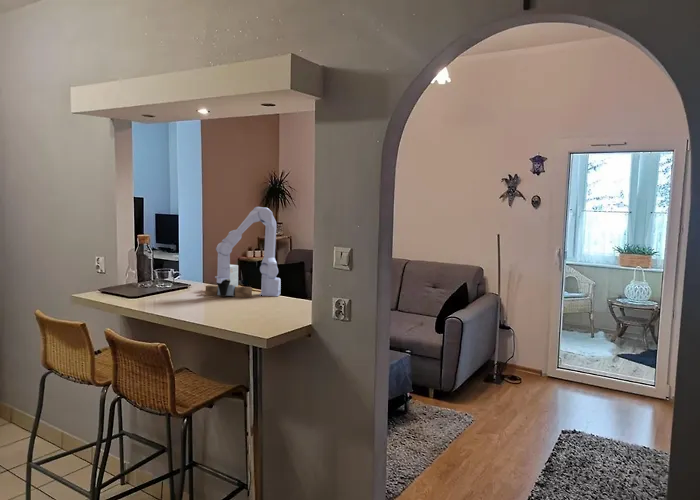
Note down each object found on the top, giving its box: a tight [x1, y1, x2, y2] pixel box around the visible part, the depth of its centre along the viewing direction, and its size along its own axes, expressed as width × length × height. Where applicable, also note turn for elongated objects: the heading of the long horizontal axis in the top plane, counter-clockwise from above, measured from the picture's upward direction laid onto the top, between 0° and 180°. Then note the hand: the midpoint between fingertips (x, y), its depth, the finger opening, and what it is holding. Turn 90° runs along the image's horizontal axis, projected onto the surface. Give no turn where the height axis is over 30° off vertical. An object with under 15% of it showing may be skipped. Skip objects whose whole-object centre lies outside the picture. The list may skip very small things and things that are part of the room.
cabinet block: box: [217, 285, 235, 297], centre depth 260 cm, size 8×4×5 cm, turn 86°
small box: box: [227, 263, 239, 286], centre depth 276 cm, size 8×6×13 cm
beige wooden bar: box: [205, 284, 253, 298], centre depth 263 cm, size 22×4×4 cm, turn 86°
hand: (223, 295), depth 257 cm, fingers closed
